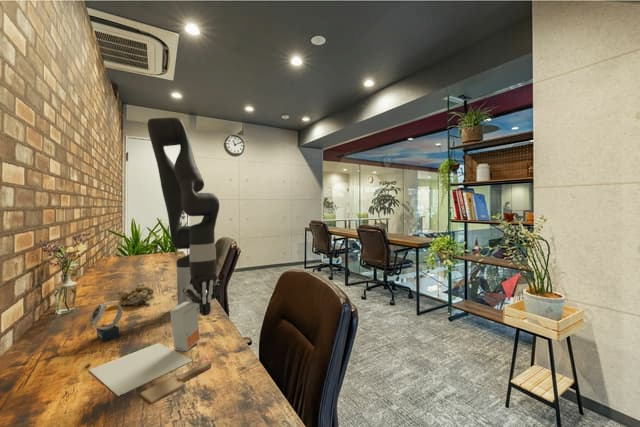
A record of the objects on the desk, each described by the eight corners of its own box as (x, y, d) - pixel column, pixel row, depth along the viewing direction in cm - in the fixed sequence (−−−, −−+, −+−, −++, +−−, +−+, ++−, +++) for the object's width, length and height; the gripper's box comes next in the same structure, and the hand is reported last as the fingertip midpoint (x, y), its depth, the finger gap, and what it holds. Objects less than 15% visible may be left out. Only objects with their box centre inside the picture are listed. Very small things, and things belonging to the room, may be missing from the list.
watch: (89, 340, 89) (87, 305, 89) (119, 331, 95) (118, 298, 95) (94, 345, 86) (93, 308, 85) (125, 335, 92) (124, 301, 92)
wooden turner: (203, 362, 74) (203, 359, 74) (215, 368, 71) (215, 364, 71) (141, 395, 62) (140, 390, 62) (152, 404, 59) (151, 399, 59)
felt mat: (158, 343, 86) (158, 342, 86) (192, 360, 76) (192, 360, 76) (88, 370, 72) (88, 369, 72) (118, 396, 62) (118, 395, 62)
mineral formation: (147, 296, 133) (164, 299, 125) (114, 310, 122) (131, 314, 114) (142, 280, 132) (159, 282, 124) (109, 292, 121) (126, 295, 113)
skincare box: (187, 352, 80) (182, 311, 79) (174, 350, 81) (169, 310, 80) (201, 339, 86) (196, 302, 85) (188, 338, 87) (184, 301, 86)
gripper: (214, 254, 95) (216, 306, 95) (175, 261, 84) (177, 320, 84) (228, 255, 91) (231, 310, 91) (189, 262, 80) (192, 325, 80)
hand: (205, 314), depth 88 cm, fingers closed
